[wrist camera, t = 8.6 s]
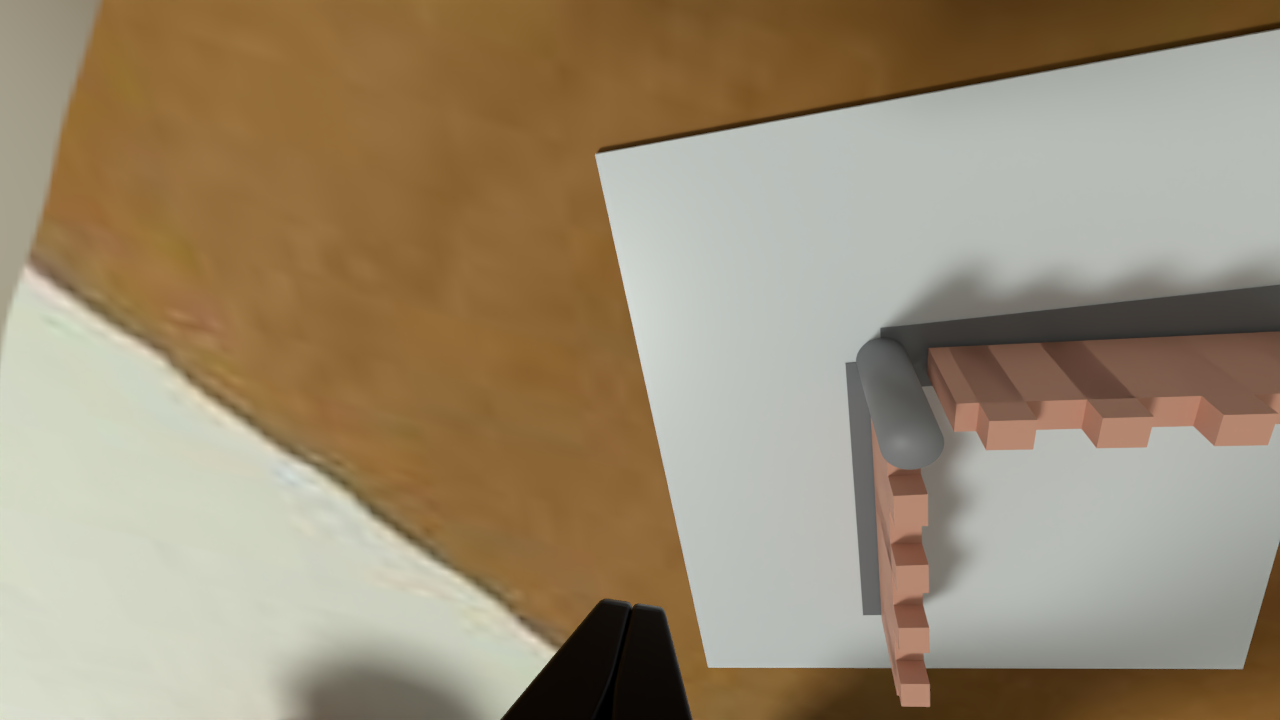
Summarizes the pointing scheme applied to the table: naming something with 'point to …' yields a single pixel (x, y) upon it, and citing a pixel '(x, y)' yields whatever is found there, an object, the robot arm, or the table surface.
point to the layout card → (951, 317)
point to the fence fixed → (901, 506)
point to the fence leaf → (1113, 388)
